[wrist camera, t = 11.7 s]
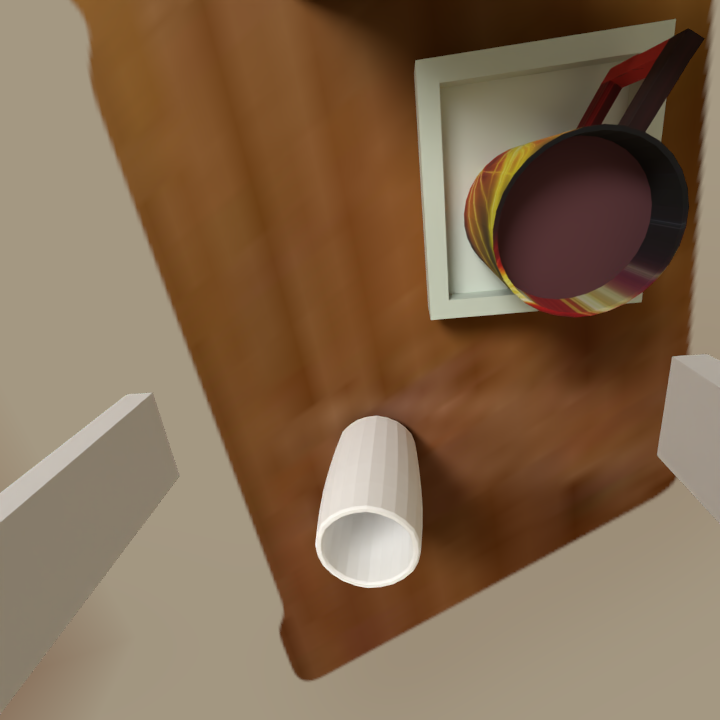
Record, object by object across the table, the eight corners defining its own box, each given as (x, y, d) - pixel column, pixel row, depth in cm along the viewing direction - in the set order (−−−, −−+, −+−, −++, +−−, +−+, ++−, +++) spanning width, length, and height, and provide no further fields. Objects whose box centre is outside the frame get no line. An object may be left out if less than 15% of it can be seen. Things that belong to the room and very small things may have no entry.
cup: (417, 479, 47) (423, 595, 34) (338, 475, 47) (314, 588, 34) (420, 407, 43) (427, 506, 30) (335, 405, 44) (307, 500, 31)
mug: (615, 71, 30) (739, 9, 19) (583, 274, 35) (665, 317, 24) (471, 78, 31) (509, 23, 20) (460, 275, 36) (485, 317, 25)
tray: (413, 73, 33) (415, 60, 29) (643, 37, 31) (676, 18, 27) (428, 306, 40) (430, 320, 36) (618, 290, 37) (641, 302, 34)
